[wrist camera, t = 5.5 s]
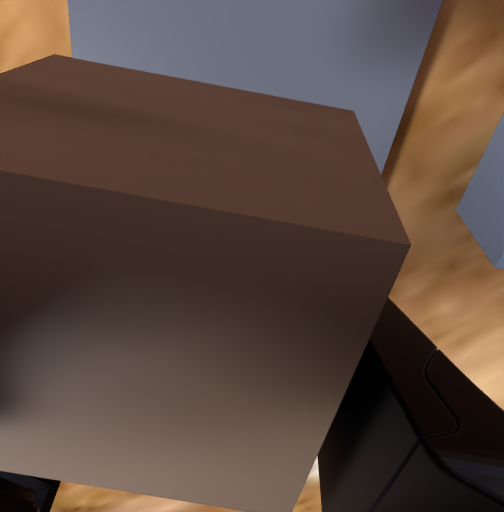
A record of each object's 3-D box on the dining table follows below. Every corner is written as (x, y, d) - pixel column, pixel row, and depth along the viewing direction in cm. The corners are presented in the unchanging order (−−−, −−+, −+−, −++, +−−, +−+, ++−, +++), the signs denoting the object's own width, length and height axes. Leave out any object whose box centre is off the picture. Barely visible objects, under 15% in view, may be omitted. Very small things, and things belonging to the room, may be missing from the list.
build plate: (348, 252, 23) (350, 263, 22) (91, 207, 23) (84, 216, 22) (458, -68, 15) (467, -70, 14) (69, -143, 15) (56, -149, 14)
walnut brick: (290, 327, 12) (288, 518, 8) (76, 289, 12) (-43, 463, 8) (353, 110, 8) (410, 245, 4) (54, 54, 8) (-182, 137, 4)
